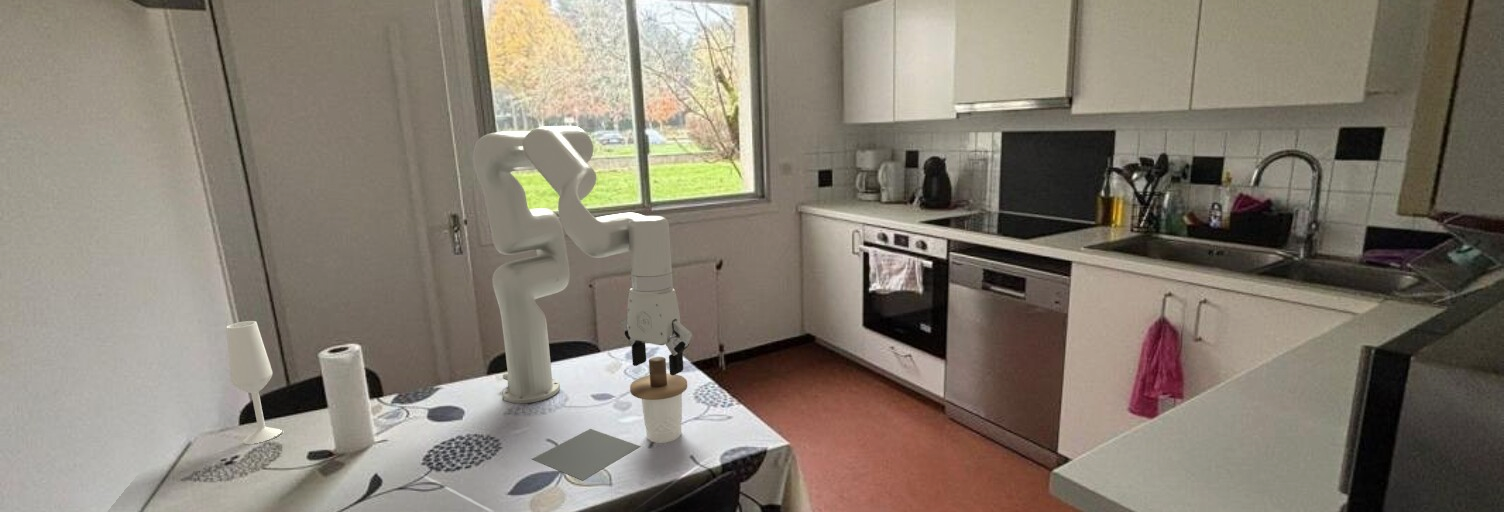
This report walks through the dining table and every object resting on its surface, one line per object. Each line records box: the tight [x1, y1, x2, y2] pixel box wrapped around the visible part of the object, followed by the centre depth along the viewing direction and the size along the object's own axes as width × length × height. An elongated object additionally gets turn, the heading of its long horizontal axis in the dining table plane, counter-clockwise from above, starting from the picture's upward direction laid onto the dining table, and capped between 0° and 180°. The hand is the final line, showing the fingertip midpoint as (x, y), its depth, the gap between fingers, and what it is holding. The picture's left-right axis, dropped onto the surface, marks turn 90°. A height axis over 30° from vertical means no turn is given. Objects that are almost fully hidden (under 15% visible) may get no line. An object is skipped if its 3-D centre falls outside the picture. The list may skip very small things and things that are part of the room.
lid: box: [629, 356, 688, 400], centre depth 122 cm, size 11×11×6 cm
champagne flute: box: [226, 320, 283, 445], centre depth 127 cm, size 7×7×24 cm
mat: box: [531, 428, 641, 481], centre depth 118 cm, size 14×14×1 cm
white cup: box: [641, 393, 683, 444], centre depth 123 cm, size 8×8×10 cm
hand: (657, 368), depth 122 cm, fingers open, 9 cm apart
